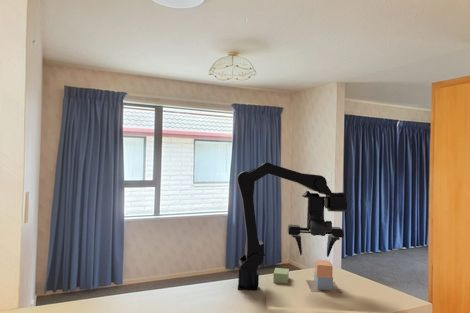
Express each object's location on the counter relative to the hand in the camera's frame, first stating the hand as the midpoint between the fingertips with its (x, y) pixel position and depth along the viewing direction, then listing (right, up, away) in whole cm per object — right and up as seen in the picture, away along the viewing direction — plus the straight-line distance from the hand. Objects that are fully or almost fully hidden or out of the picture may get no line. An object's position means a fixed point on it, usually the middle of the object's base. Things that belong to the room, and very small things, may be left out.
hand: (314, 255), depth 121 cm
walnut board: (+3, -11, -2) cm, 11 cm away
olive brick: (-11, -11, +4) cm, 16 cm away
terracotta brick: (+3, -6, -1) cm, 7 cm away
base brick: (+3, -10, -2) cm, 10 cm away
